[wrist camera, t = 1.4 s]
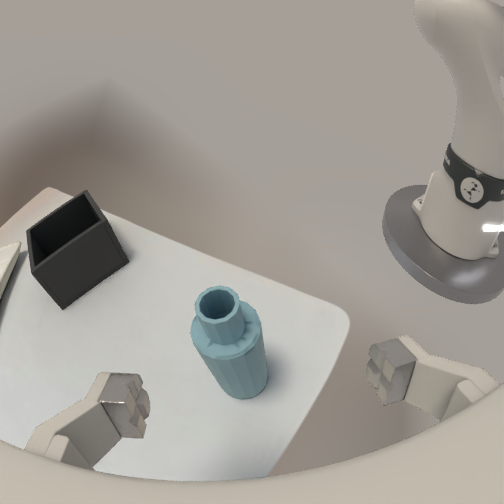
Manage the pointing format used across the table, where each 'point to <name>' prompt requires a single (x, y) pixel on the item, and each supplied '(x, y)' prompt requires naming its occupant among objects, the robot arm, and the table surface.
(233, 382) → the bottle
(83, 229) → the bin
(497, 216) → the robot arm
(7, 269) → the square plate
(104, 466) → the table surface
